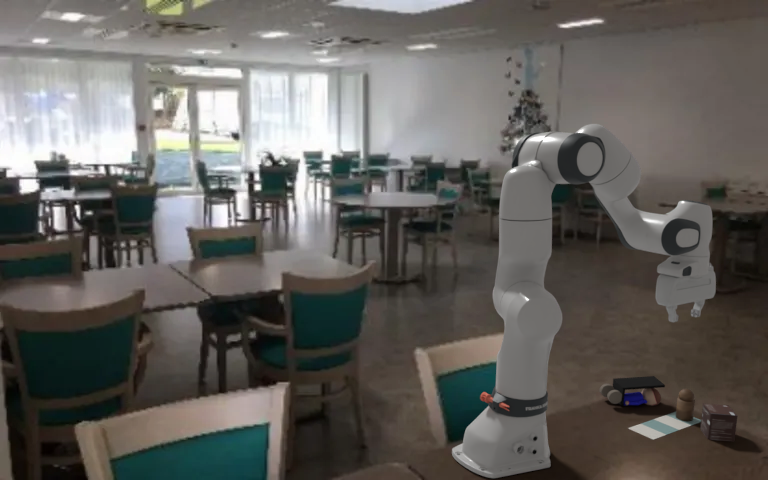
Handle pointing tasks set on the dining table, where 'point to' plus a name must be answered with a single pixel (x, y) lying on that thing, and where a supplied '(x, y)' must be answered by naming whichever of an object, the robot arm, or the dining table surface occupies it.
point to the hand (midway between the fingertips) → (684, 319)
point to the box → (718, 422)
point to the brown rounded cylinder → (685, 405)
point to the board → (662, 426)
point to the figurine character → (646, 396)
